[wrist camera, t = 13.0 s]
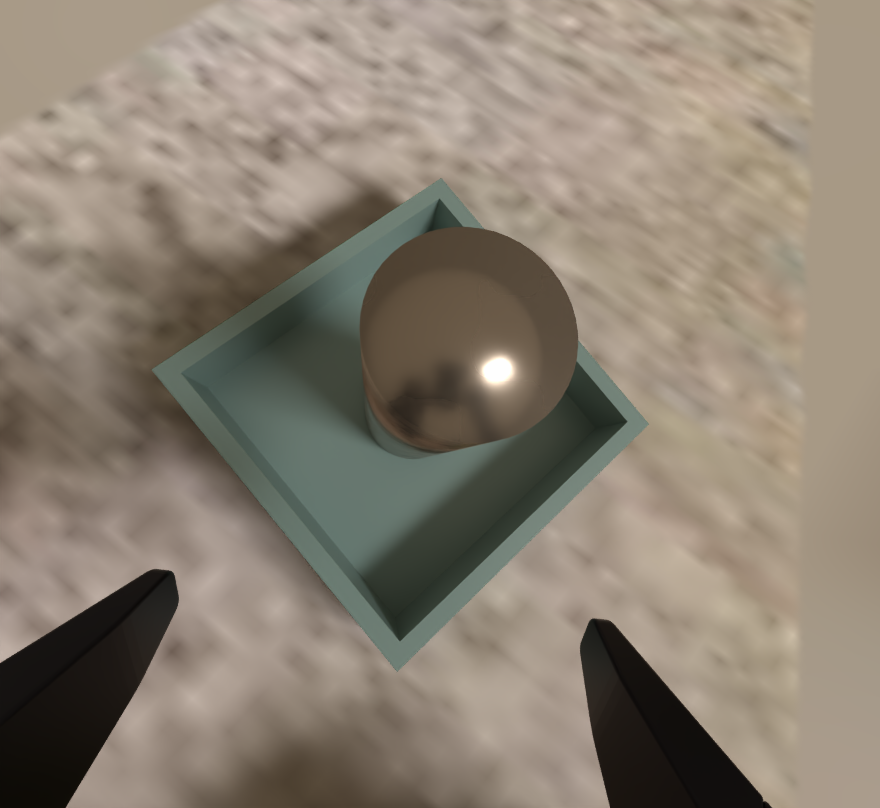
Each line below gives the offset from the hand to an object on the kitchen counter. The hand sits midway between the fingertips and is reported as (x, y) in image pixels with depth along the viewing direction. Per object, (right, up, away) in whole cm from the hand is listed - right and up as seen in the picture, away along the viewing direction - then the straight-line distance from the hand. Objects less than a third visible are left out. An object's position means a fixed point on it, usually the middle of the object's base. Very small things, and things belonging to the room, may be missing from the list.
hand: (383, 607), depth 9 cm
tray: (0, +4, +14) cm, 14 cm away
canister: (0, +4, +13) cm, 14 cm away
